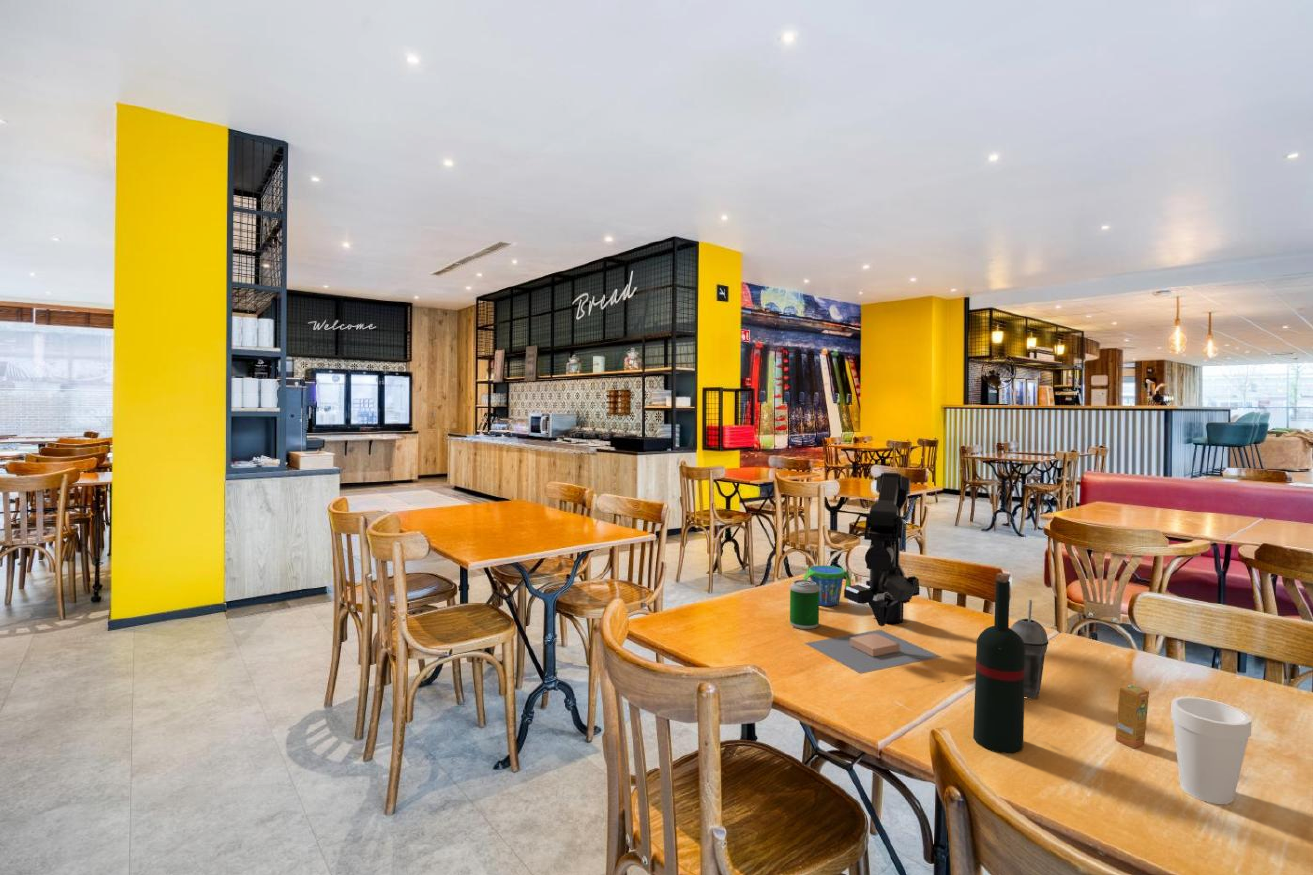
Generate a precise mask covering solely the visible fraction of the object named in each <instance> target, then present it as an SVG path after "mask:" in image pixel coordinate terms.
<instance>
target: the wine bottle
mask: <svg viewBox="0 0 1313 875" xmlns="http://www.w3.org/2000/svg"><path fill="white" fill-rule="evenodd" d="M995 577H996V578H995V579H996V580H995V590H994V592H995V594H994V625H991V626H989V627H986V628H984V630H982V632H980V634H979V635H978V637H977V639H976V653H975V654H976V655H975V658H976V659H975V681H974V684H975V685H974V708H973V735H972V738H973V740H974V741H975V742H976V744H977V745H979V746H980V747H982V748H984V749H986V750H988V751H992V752H996V753H999V754H1009V755H1010V754H1011V755H1012V754H1013V755H1014V754H1018V753H1020V752H1022V750H1023V748H1024V726H1025V724H1024V722H1025V698H1024V691H1025V649H1026V646H1025V644H1024V641H1023V640H1022V638H1021V637H1020V636H1019V635H1018V634H1017V633H1016V632H1015V631H1013V630H1012V629H1010V628H1011V627H1009V624H1010V620H1009V619H1010V589H1011V581H1010V577H1011V575H1010V574H1008V573H1003V572H999V573H995Z"/></svg>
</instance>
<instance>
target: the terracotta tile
mask: <svg viewBox="0 0 1313 875" xmlns="http://www.w3.org/2000/svg"><path fill="white" fill-rule="evenodd" d="M850 645H851V646H853V647H855V648H857V649H859V650H861V651H863V652H865V653H867V654H869V655H871V656H873V657H874V656H879V655H884V654H889V653H894V652H899V647H900V644H898V643H896V642H894V641H892V640H890V639H887V638H885V637H883V636H881V635H879V634H876V633H874V634H869V635H863V636H858V637H852V638H850Z"/></svg>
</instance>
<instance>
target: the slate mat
mask: <svg viewBox="0 0 1313 875" xmlns="http://www.w3.org/2000/svg"><path fill="white" fill-rule="evenodd" d="M874 633H876V634H879V635H881V636H883V637H885V638H887V639H890V640H892V641H894V642H896V643H898V644H900V647H899V652H894V653H889V654H884V655H879V656H874V657H873V656H871V655H869V654H867V653H865V652H863V651H861V650H859V649H857V648H855V647H853V646H851V645H850V638H852V637H858V636H863V635H869V634H874ZM804 644H805V645H807V646H808V647H810V648H812V649H814V650H816V651H818V652H820V653H822V654H824V655H825V656H827V657H829V658H830V659H833V660H835V661H836V662H838V663H839V664H841V665H843V666H845V667H847V668H849V669H851V670H853V671H854V672H857V673H858V674H866V673H869V672H875V671H879V670H885V669H889V668H893V667H894V668H895V667H899V666H904V665H907V664H908V665H909V664H914V663H917V662H922V661H928V660H933V659H937V658H941V657H942V655H939V654H937V653H935V652H933V651H930V650H928V649H926V648H923V647H921V646H918V645H916V644H914V643H912V642H909V641H907V640H905V639H902V638H900V637H898V636H896V635H894V634H892V633H889V632H887V631H885V630H882V629H877V630H872V631H866V632H865V631H864V632H860V633H855V634H854V633H853V634H848V635H844V636H843V635H842V636H837V637H831V638H826V639H820V640H816V641H815V640H813V641H808V642H805V643H804Z"/></svg>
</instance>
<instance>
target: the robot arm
mask: <svg viewBox="0 0 1313 875" xmlns="http://www.w3.org/2000/svg"><path fill="white" fill-rule="evenodd" d="M875 490H876V493H878V498H877V502H876V503H874V504H872V505H871V506H870V510H869V512H867V514H866V517H865V518H866V520H865V528H864V537H863V539H864V541H865V540H866V541H870V545H869V547H868V549H867V551H866V552H865V555H864V556H865V557H864V560H865V563H866V569H867V570H869V580H866V581H865V585H866V586H868V587H865V586H863V585H861V584H854V585H851V586H847V587H846V588H845V587H844V590H843V598H844V599H847V600H850V601H852V602H854V603H857V604H860V605H861V604H868V606H869V607H870V608H871V611H872V614H873V615H874V616H873V619H874V620H876V623H877V624H878V626H880V627H885V625H888V626H895V625H900V624H905V623H906V624H907V623H908V621H906V620H904V604H907V603H910V602H911V600H912V598H913V597H914V596H919V595H920V591H921V590H920V581H919V580H920V579H919V578H918V577H917V576H915V575H913V576H908V577H906V574H905V572H904V570H903V568H902V566H901V565H900V564H901V563H900V551H901V550H900V547H901V539H902V538H903V531H904V520H903V518H902V509H903V507H904V506H905V504H906V503H907V501H908V496H909V495H911V479H910V478H909V477H906V476H903V475H902V474H901V473H899V472H883V473H882V472H881V473H880V475H879V476H876V487H875Z"/></svg>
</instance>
